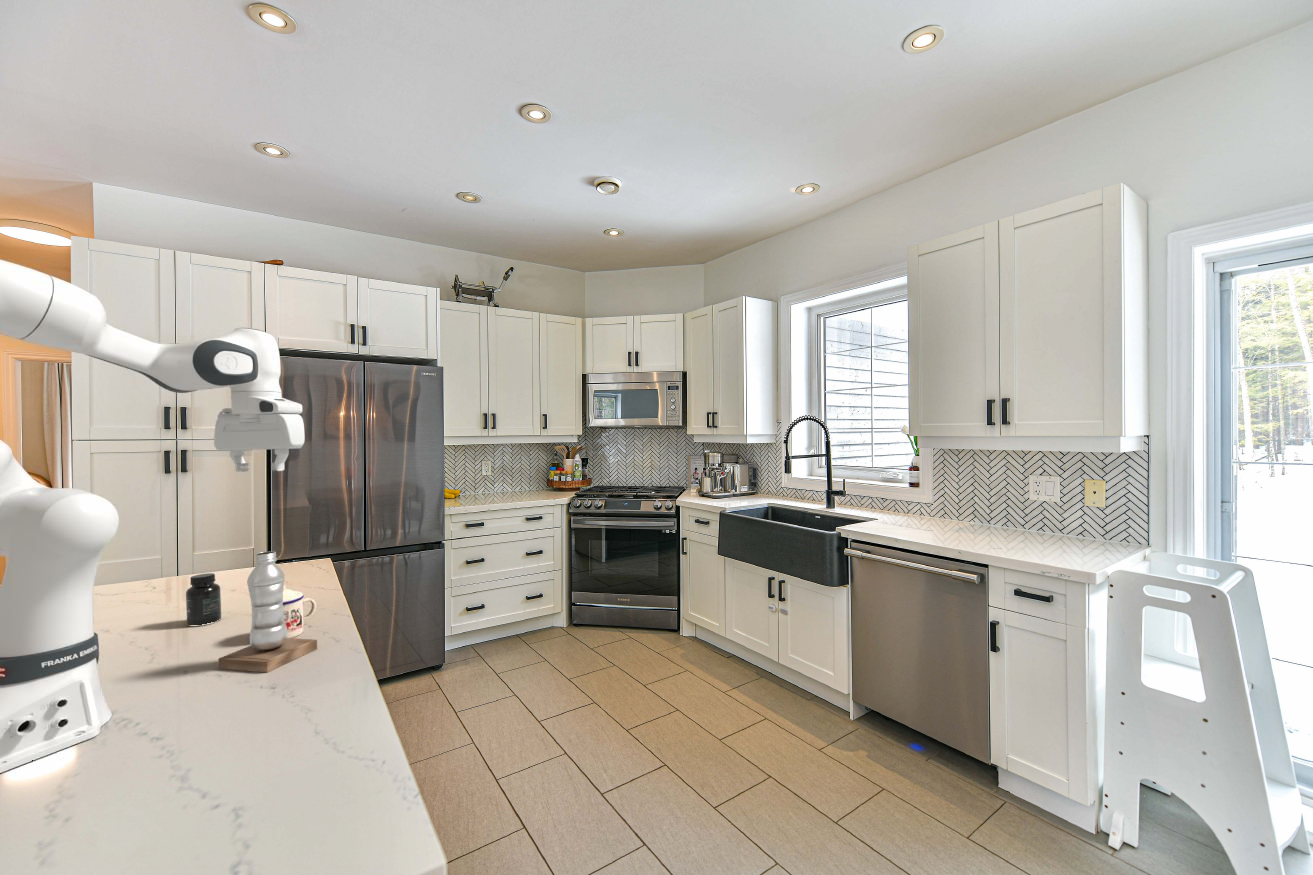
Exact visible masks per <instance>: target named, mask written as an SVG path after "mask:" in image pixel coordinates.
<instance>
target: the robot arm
mask: <svg viewBox="0 0 1313 875" xmlns="http://www.w3.org/2000/svg"><path fill="white" fill-rule="evenodd" d="M107 321H108V318H107V312H106V309H105V307H104V305H103V303H102V302H101V300H100V299H99V298H98V297H97V296H95V295H94V294H92V293H91V292H88V291H87V290H85V289H83V288H82V287H79V286H78V285H76V284H73V283H71V282H68V281H66V280H63V279H60V278H59V277H55V276H53V275H50V274H47V273H45V272H41V271H39V270H36V269H33V268H30V267H27V266H24V265H21V264H18V263H14V262H11V261H7V260H3V259H0V335H3V336H6V337H10V338H13V339H16V340H20V341H23V342H27V343H31V344H34V345H38V346H43V347H47V348H52V349H56V350H62V351H67V352H72V353H78V354H82V355H85V356H88V357H90V358H94V359H97V360H100V361H103V362H106V363H110V364H112V365H115V366H119V367H122V368H124V369H127V370H128V369H129V370H130V371H131V370H132V371H134V372H136V373H139V374H140V375H143V376H145V377H146V378H148V379H149V380H151V381H152V382H154V383H155V384H156V385H158V386H159V387H160V388H163V390H164V389H165V390H166V391H169V392H172V393H176V394H177V393H179V394H186V393H193V392H196V391H197V392H198V391H202V390H203V391H204V390H213V389H221V388H227V387H229V388H230V395H231V396H230V400H231V403H230V404H231V408H229V407H226V408H222V410H221V411H219V413H218V414H217V419H216V421H215V426H214V436H213V440H214V441H213V444H214V448H215V449H216V451H218V452H222V451H223V452H224V451H227V452H228V451H229V457H230V458H231V460H232V462H233V464H234V465H235V466H234V467H235V468H234V469H235V472H237V473H239V472H240V473H243V472H248V471H249V470H250V469H249V463H248V462H246V461H245V458H244V456H245V451H252V450H253V451H255V450H256V451H257V450H274V455H276V457H275V460H274V462H271V466H270V467H271V471H272V472H282V471H283V472H284V471H285V462H286V460H287V459H288V456H289V454H290V453H289V452H290V451H289V450H290V449H291V450H292V449H295V450H296V449H302V447H303V446H304V444H305V438H306V437H305V436H306V435H305V424H304V419H303V416H301V414H302V413H303V405H302V404H301V403H298V402H295V401H293V400H290V399H287V398H284V397H283V396H282V394H283V393H282V392H283V391H282V389H281V386H280V377H281V374H282V372H281V371H282V370H281V369H282V365H281V356H280V350H279V349H280V348H279V346H278V342H277V340H276V338H275V337H274V336H273V335H272V334H270V333H269V332H267V331H264V330H260V329H256V328H249V327H238V328H237V327H236V328H235V329H233V330H232V331H230V332H228V333H225V334H222V335H220V336H216V337H211V338H207V339H202V340H200V339H199V340H195V341H188V342H182V343H180V342H178V343H177V342H176V343H158V342H157V343H156V342H153V341H151V340H148V339H145V338H144V337H143V338H142V337H140V336H137V335H135V334H132V333H130V332H126V331H123V330H121V329H119V328H116V327H114V326H111V325H110V324H108V323H107ZM119 525H120V517H119V513H118V510H117V509H116V507H115V506H114V505H113V503H112V502H111V501H109V500H108V499H106V498H104V497H102V496H100V495H98V494H95V493H93V492H90V491H87V490H83V489H80V488H70V487H69V488H67V487H65V488H64V487H49V486H46V485H44V484H42V483H40V482H38V481H37V480H35V479H34V478H33V477H32V476H31V475H30V474H29V473H28V472H27V471H26V470H25V469H24V468H23V466H22V465H21V464H20V462H18V461H17V459H16V458H15V457H14V455H13V450H12V448H11V447H10V446H9V444H7V443H6V442H5V441H3V440H2V439H0V557H6V564H5V565H6V566H5V570H4V572H3V573H4V574H3V577H2V580H1V585H0V774H2V773H4V772H6V771H9V770H12V769H14V768H16V767H19V766H23V765H24V764H27V763H29V762H33V761H34V760H35V761H36V760H38V759H40V758H43V757H45V756H48V755H52V754H53V753H56V752H58V751H61V750H63V749H66V748H69V747H72V746H73V745H76V744H79V743H81V742H85V741H87V740H90V739H93V738H95V737H96V736H98V735H99V734H100V732H101V728H102V726H104V725H105V724H106V723H107V722H108V721H109V720H110V719H111V718H112V715H113V713H112V711H111V709H110V708H109V706H108V704H107V701H106V698H105V696H104V692H103V690H102V685H101V682H100V676H99V675H100V674H99V669H98V664H99V660H100V646H99V645H100V644H99V643H100V642H99V635H98V633H96V632H95V617H94V616H95V613H94V612H95V611H94V587H95V581H96V576H97V572H98V568H99V564H100V561H101V558H102V554H103V552H104V549H105V547H106V546H107V545H108V544H109V543H110V542H111V541H112V539H113V538H114V537H115V535H116V533H117V532H118V529H119ZM32 760H33V761H32Z"/></svg>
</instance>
